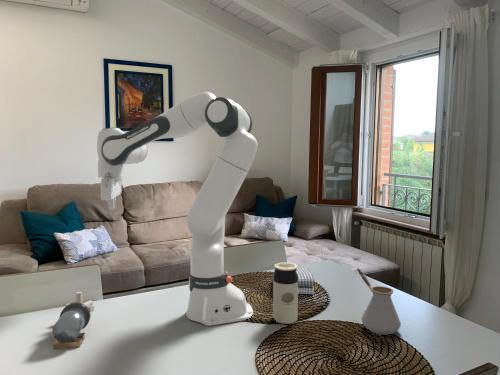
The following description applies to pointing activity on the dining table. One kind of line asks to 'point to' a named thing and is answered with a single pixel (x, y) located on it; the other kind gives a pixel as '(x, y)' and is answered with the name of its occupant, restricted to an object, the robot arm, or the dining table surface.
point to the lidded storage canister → (71, 326)
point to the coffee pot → (380, 310)
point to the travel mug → (285, 293)
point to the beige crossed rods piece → (79, 300)
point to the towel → (305, 281)
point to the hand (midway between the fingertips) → (111, 209)
